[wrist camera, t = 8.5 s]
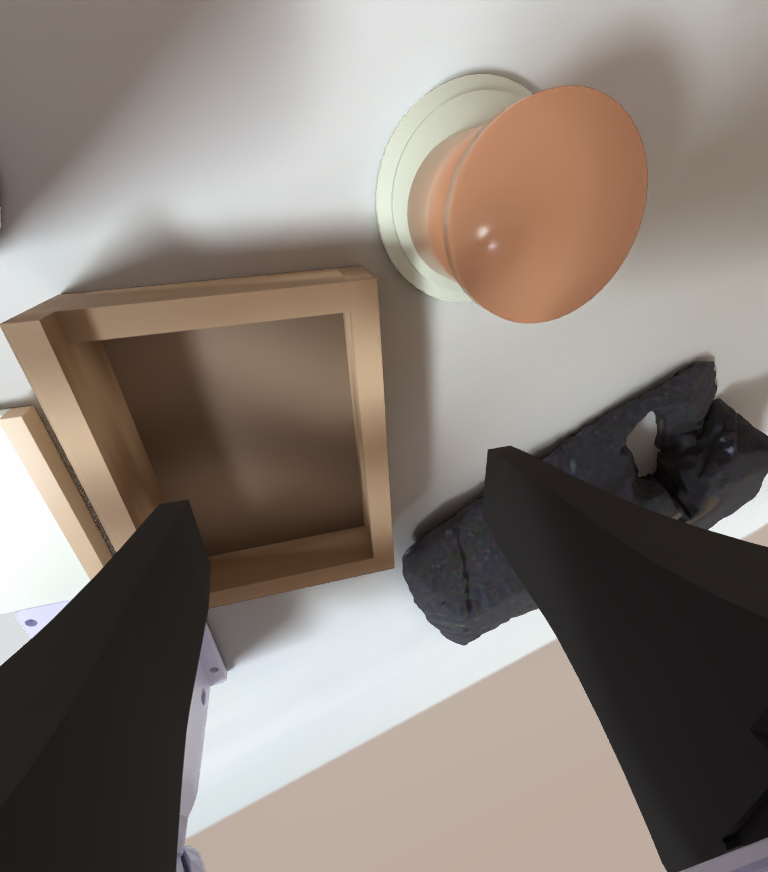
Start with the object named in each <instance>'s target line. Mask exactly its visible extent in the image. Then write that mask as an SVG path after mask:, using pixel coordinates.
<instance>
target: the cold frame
mask: <svg viewBox="0 0 768 872" xmlns="http://www.w3.org/2000/svg"><path fill="white" fill-rule="evenodd" d="M0 327H1V329H2V331H3V333H4V335H5V337H6V339H7V341H8V342H9V344H10V346H11V348H12V350H13V352H14V354H15V356H16V358H17V360H18V362H19V364H20V366H21V368H22V370H23V372H24V374H25V376H26V378H27V380H28V381H29V383H30V385H31V387H32V389H33V391H34V393H35V395H36V397H37V399H38V401H39V403H40V405H41V407H42V409H43V411H44V413H45V415H46V417H47V419H48V420H49V422H50V424H51V426H52V428H53V430H54V432H55V434H56V436H57V438H58V440H59V442H60V444H61V446H62V448H63V450H64V452H65V454H66V456H67V458H68V459H69V461H70V463H71V465H72V467H73V469H74V471H75V473H76V475H77V477H78V479H79V481H80V483H81V485H82V487H83V489H84V491H85V493H86V495H87V496H88V498H89V500H90V502H91V504H92V506H93V508H94V510H95V512H96V514H97V516H98V518H99V520H100V522H101V524H102V526H103V528H104V530H105V532H106V534H107V535H108V537H109V539H110V541H111V543H112V545H113V547H114V549H115V551H116V552H117V551H118V550H119V549H120V548H121V547H122V546H123V545H124V544H125V542H126V541H127V540H128V539H129V538H130V537H131V536H132V534H133V533H134V532H135V531H136V530H137V529H138V528H139V526H140V525H141V524H142V523H143V522H144V521H145V520H146V518H147V517H148V516H149V515H150V514H151V513H152V512H153V511H154V510H155V509H156V507H157V506H158V505H159V504H164V503H170V502H176V501H182V500H189V502H190V505H191V508H192V511H193V514H194V517H195V520H196V523H197V526H198V529H199V532H200V535H201V538H202V540H203V543H204V546H205V549H206V552H207V555H208V558H209V561H210V564H211V574H210V595H209V608H214V607H218V606H223V605H228V604H232V603H237V602H241V601H246V600H251V599H255V598H260V597H264V596H269V595H274V594H278V593H283V592H287V591H292V590H296V589H301V588H306V587H310V586H315V585H319V584H324V583H329V582H333V581H338V580H342V579H347V578H352V577H356V576H361V575H365V574H370V573H375V572H379V571H384V570H388V569H393V568H394V552H393V536H392V519H391V502H390V485H389V468H388V451H387V435H386V418H385V401H384V384H383V367H382V350H381V334H380V317H379V300H378V283H377V278H375V277H374V276H373V275H372V274H371V273H370V272H368V271H367V270H366V269H365V268H364V267H362V266H353V267H343V268H332V269H322V270H311V271H301V272H290V273H280V274H269V275H259V276H248V277H238V278H227V279H217V280H206V281H196V282H186V283H175V284H165V285H154V286H144V287H133V288H123V289H112V290H102V291H91V292H81V293H70V294H60V295H57V296H55V297H53V298H51V299H49V300H47V301H45V302H43V303H41V304H39V305H37V306H35V307H33V308H31V309H29V310H27V311H25V312H23V313H21V314H19V315H17V316H15V317H13V318H11V319H9V320H7V321H5V322H3V323H1V324H0ZM209 608H208V609H209Z"/></svg>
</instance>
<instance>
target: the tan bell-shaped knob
mask: <svg viewBox="0 0 768 872" xmlns="http://www.w3.org/2000/svg"><path fill="white" fill-rule="evenodd" d="M647 185H648V179H647V162H646V155H645V151H644V147H643V143H642V140H641V137H640V135H639V132H638V130H637V127H636V126H635V124H634V122H633V121H632V119H631V117H630V116H629V115H628V113H627V112H626V111H625V110H624V109H623V107H622V106H621V105H620V104H618V103H617V102H616V101H615V100H614V99H612V98H611V97H609V96H608V95H606V94H604V93H602V92H600V91H598V90H595V89H591V88H588V87H582V86H560V87H556V88H552V89H548V90H544V91H541V92H538V93H536V94H533V95H530V96H527V97H525V98H523V99H520V100H518V101H516V102H514V103H512V104H510V105H509V106H507V107H506V108H504V109H502V110H501V111H500V112H498V113H497V114H496V115H495V116H493V117H492V118H491V119H490V120H489V121H488V122H487V123H486V124H484V125H480V126H477V127H474V128H471V129H467V130H464V131H461V132H458V133H456V134H453V135H451V136H449V137H448V138H446V139H444V140H443V141H441V142H440V143H439V144H438V145H437V146H435V147H434V148H433V149H432V151H431V152H430V153H429V154H428V155H427V156H426V158H425V159H424V161H423V162H422V163H421V165H420V167H419V169H418V171H417V172H416V175H415V177H414V180H413V182H412V185H411V189H410V192H409V198H408V207H407V220H408V228H409V233H410V236H411V240H412V243H413V245H414V247H415V249H416V251H417V253H418V254H419V256H420V257H421V259H422V260H423V261H424V262H425V264H426V265H428V266H429V267H430V268H431V269H432V270H434V271H435V272H436V273H438V274H440V275H442V276H444V277H446V278H448V279H450V280H452V281H454V282H456V283H458V284H459V286H460V287H461V288H462V290H463V291H464V292H465V293H466V295H467V296H469V297H470V298H471V299H472V300H473V301H474V302H475V303H477V304H478V305H479V306H481V307H482V308H484V309H486V310H488V311H489V312H491V313H493V314H495V315H497V316H499V317H501V318H503V319H506V320H510V321H513V322H519V323H540V322H546V321H550V320H554V319H557V318H560V317H562V316H564V315H567V314H569V313H571V312H573V311H574V310H576V309H578V308H579V307H581V306H582V305H584V304H585V303H586V302H588V301H589V300H591V299H592V298H593V297H594V296H595V295H596V294H597V293H598V292H599V291H601V290H602V288H603V287H604V286H605V285H606V284H607V283H608V282H609V281H610V280H611V278H612V277H613V276H614V274H615V273H616V272H617V270H618V269H619V268H620V266H621V264H622V263H623V261H624V260H625V258H626V256H627V254H628V252H629V251H630V249H631V247H632V245H633V242H634V240H635V238H636V235H637V233H638V230H639V227H640V224H641V220H642V217H643V213H644V208H645V203H646V196H647Z"/></svg>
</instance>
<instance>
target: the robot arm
mask: <svg viewBox="0 0 768 872" xmlns="http://www.w3.org/2000/svg"><path fill="white" fill-rule="evenodd" d="M482 513H483V516H484V518H485V520H486V522H487V524H488V527H489V529H490V531H491V533H492V535H493V537H494V539H495V541H496V543H497V545H498V547H499V548H500V550H501V551H502V553H503V555H504V556H505V558H506V559H507V561H508V562H509V564H510V565H511V567H512V568H513V570H514V572H515V573H516V575H517V576H518V578H519V579H520V581H521V582H522V584H523V585H524V587H525V588H526V590H527V591H528V593H529V594H530V596H531V597H532V599H533V600H534V602H535V603H536V605H537V606H538V608H539V609H540V611H541V612H542V614H543V615H544V617H545V618H546V620H547V622H548V623H549V625H550V626H551V628H552V630H553V631H554V633H555V635H556V636H557V638H558V640H559V642H560V644H561V646H562V647H563V649H564V651H565V653H566V655H567V657H568V659H569V661H570V663H571V664H572V666H573V668H574V670H575V672H576V674H577V676H578V677H579V679H580V682H581V684H582V686H583V688H584V690H585V692H586V694H587V696H588V698H589V700H590V702H591V704H592V706H593V708H594V710H595V712H596V714H597V716H598V718H599V720H600V722H601V724H602V726H603V729H604V731H605V733H606V735H607V737H608V739H609V742H610V744H611V746H612V748H613V750H614V752H615V754H616V756H617V759H618V761H619V763H620V765H621V767H622V770H623V772H624V774H625V776H626V779H627V781H628V783H629V785H630V788H631V790H632V792H633V795H634V797H635V799H636V802H637V804H638V806H639V809H640V811H641V813H642V816H643V818H644V820H645V822H646V825H647V827H648V829H649V832H650V834H651V837H652V839H653V841H654V844H655V847H656V849H657V851H658V854H659V856H660V859H661V861H662V864H663V865H664V867H665V869H666V870H667V872H768V547H765V546H761V545H758V544H754V543H750V542H746V541H743V540H740V539H736V538H733V537H729V536H726V535H723V534H719V533H716V532H712V531H709V530H706V529H703V528H700V527H697V526H693V525H690V524H687V523H685V522H682V521H679V520H676V519H673V518H671V517H668V516H665V515H662V514H660V513H657V512H654V511H651V510H649V509H646V508H644V507H641V506H639V505H636V504H634V503H632V502H629V501H627V500H625V499H622V498H620V497H618V496H615V495H613V494H611V493H608V492H606V491H604V490H602V489H600V488H597V487H595V486H593V485H591V484H589V483H587V482H585V481H583V480H581V479H578V478H576V477H574V476H572V475H570V474H568V473H566V472H564V471H562V470H560V469H558V468H556V467H554V466H552V465H550V464H548V463H546V462H544V461H542V460H540V459H538V458H536V457H534V456H532V455H530V454H528V453H526V452H524V451H521V450H519V449H517V448H514V447H512V446H506V447H500V448H494V449H488V454H487V465H486V475H485V486H484V497H483V507H482ZM210 574H211V564H210V561H209V558H208V555H207V552H206V549H205V546H204V543H203V540H202V538H201V535H200V532H199V529H198V526H197V523H196V520H195V517H194V514H193V511H192V508H191V505H190V502H189V500H182V501H176V502H170V503H164V504H159V505H158V506H157V507H156V509H155V510H154V511H153V512H152V513H151V514H150V515H149V516H148V517H147V518H146V520H145V521H144V522H143V523H142V524H141V525H140V526H139V528H138V529H137V530H136V531H135V532H134V533H133V534H132V536H131V537H130V538H129V539H128V540H127V541H126V542H125V544H124V545H123V546H122V547H121V548H120V549H119V550H118V551H117V552H116V554H115V555H114V556H113V557H112V558H111V559H110V560H109V561H108V562H107V564H106V565H105V566H104V567H103V568H102V569H101V570H100V571H99V572H98V573H97V574H96V576H95V577H94V578H93V579H92V580H91V581H90V582H89V583H88V584H87V585H86V586H85V587H84V588H83V589H82V590H81V591H80V592H79V593H78V594H77V595H76V596H75V597H74V598H73V599H72V600H67V601H62V602H57V603H52V604H47V605H42V606H37V607H33V608H28V609H23V610H18V611H16V612H15V618H16V619H17V621H18V622H19V623H20V625H21V626H22V627H23V629H24V630H25V631H26V632H27V634H28V635H29V636H30V638H31V640H30V641H28V642H27V643H26V644H25V645H24V646H23V647H22V648H20V649H19V650H18V651H17V652H16V653H15V654H14V655H13V656H11V657H10V658H9V659H8V660H7V661H6V662H5V663H3V664H2V665H1V666H0V872H206V871H205V866H204V862H203V860H202V858H201V855H200V853H199V852H198V851H197V849H196V848H194V847H191V846H184V843H185V836H186V828H187V821H188V817H189V814H190V812H191V810H192V807H193V805H194V802H195V799H196V795H197V790H198V784H199V776H200V768H201V759H202V751H203V742H204V734H205V726H206V717H207V709H208V701H209V692H210V686H212V685H216V684H220V683H223V682H224V681H226V679H227V671H226V668H225V666H224V663H223V661H222V659H221V656H220V654H219V651H218V649H217V646H216V644H215V642H214V639H213V637H212V634H211V632H210V629H209V627H208V625H207V622H206V620H207V614H208V608H209V595H210Z"/></svg>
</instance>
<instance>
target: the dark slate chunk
mask: <svg viewBox="0 0 768 872" xmlns="http://www.w3.org/2000/svg"><path fill="white" fill-rule="evenodd" d="M714 365H715V364H714V362H713V361H711V362H694V364H693V366H692V367H691V368H684V369H682V370H680V371H678V372H677V373H676V374H675V377H673V378H671V379H670V380H668V381H666V382H665V383H664V384H663V385H662V386H660V387H659V388H657V389H655V390H651V391H648V392H646V393H645V394H644V395H642V396H641V397H639V398H636V399H634V400H632V401H630V402H628V403H626V404H624V405H622V406H620V407H618V408H616V409H614V410H612V411H610V412H609V413H607V414H606V415H604V416H603V417H602V418H600V419H599V420H598V421H597V422H595V423H592V424H589V425H587V426H585V427H584V428H583V429H582V430H581V431H580V432H579V433H578V434H577V435H574V434H571V435H570V436H569V437H568V438H567V439H566V440H565V441H564V442H563V443H561V444H560V445H559V446H558V447H557V448H556V449H555V450H554V451H552V452H551V454H550V455H549V456H548V457H546V458H545V459H543V460H542V461H544V462H546V463H548V464H550V465H552V466H554V467H556V468H558V469H560V470H562V471H564V472H566V473H568V474H570V475H572V476H574V477H576V478H578V479H581V480H583V481H585V482H587V483H589V484H591V485H593V486H595V487H597V488H600V489H602V490H604V491H606V492H608V493H611V494H613V495H615V496H618V497H620V498H622V499H625V500H627V501H629V502H632V503H634V504H636V505H639V506H641V507H644V508H646V509H649V510H651V511H654V512H657V513H660V514H662V515H665V516H668V517H671V518H673V519H676V520H679V521H682V522H685V523H687V524H690V525H693V526H697V527H700V528H703V529H706V530H708V529H709V528H711V527H712V526H714V525H715V524H716V523H717V522H718V521H719V520H721V519H723V518H725V517H727V516H729V515H731V514H733V513H734V512H735V511H737V510H738V509H739V508H740V507H742V506H743V505H744V504H746V503H747V502H749V501H750V500H752V499H753V498H754V497H755V496H756V495H757V493H758V492H759V490H760V488H761V486H762V482H763V479H764V477H765V476H766V475H767V473H768V436H767V435H766V434H764V433H763V432H761V431H759V430H757V429H756V428H754V427H753V426H752V425H751V424H750V423H749V422H748V421H747V420H745V419H744V418H743V417H742V416H741V415H740V414H738V413H736V412H735V411H734V410H733V409H732V408H731V407H729V406H728V405H727V404H726V403H725V402H723V401H722V400H721V399H716V400H714V401H713V399H714V397H715V394H716V391H717V385H716V384H715V378H716V372H715V371H714V370H713V369H714ZM712 401H713V402H712ZM650 411H653V412H654V413H655V415H656V424H657V436H656V439H655V446H656V447H657V448H658V449H660V450H661V451H659V452H658V453H657V459H656V461H657V469H656V470H655V472H654V473H653V474H652V475H651V474H650V473H649V474H648V475H646V476H643V477H637V476H638V472H639V471H638V469H637V467H636V464H635V462H634V458H633V455H632V453H631V451H630V450H629V448H628V447H627V446H626V444H625V443H626V439H627V437H628V435H629V434H630V432H631V431H632V430H633V428H634V427H635V426H636V425H637V423H639V422H640V421H641V420H642V419H643V418H644V417H645V416H646V415H647V413H649V412H650ZM483 497H484V495H483V496H482V497H481V498H480V499H478V500H477V501H475V502H472V503H470V504H468V505H466V506H465V507H463V508H462V509H461V510H460V511H459V512H458V513H457V514H456V515H455V516H453V517H452V518H451V519H449V520H446V521H445V522H444V523H443V524H442V525H440V526H439V527H437V528H435V529H434V530H432V531H431V532H429V533H428V534H426V535H425V536H424V537H422V538H421V539H420V540H418V541H417V542H416V543H415V544H413V545H412V546H410V547H409V548H408V549H407V551H406V552H405V554H404V555H403V557H402V561H403V576H404V578H405V581H406V582H407V584H408V586H409V590H410V592H411V593H412V595H413V597H414V602H415V603H416V604H417V606H418V607H419V608H420V609H421V610H422V611H423V612H424V614H425V615H426V619H427V620H428V621H429V622H430V623H431V624H432V625H433V626H435V627H436V628H437V629H439V630H440V632H441V633H442V635H443V636H445V637H446V638H447V639H449V640H451V641H453V642H455V643H457V644H460V645H467V644H468V643H469V642H471V641H473V640H475V639H476V638H478V637H480V635H482V634H484V633H486V632H488V631H490V630H493V629H495V628H497V627H498V626H499V625H500V624H502V623H505V622H507V621H509V620H510V618H513V617H517V616H520V615H523V614H525V613H527V612H530V611H533V610H535V609H538V606H537V605H536V603H535V602H534V600H533V599H532V597H531V596H530V594H529V593H528V591H527V590H526V588H525V587H524V585H523V584H522V582H521V581H520V579H519V578H518V576H517V575H516V573H515V572H514V570H513V568H512V567H511V565H510V564H509V562H508V561H507V559H506V558H505V556H504V555H503V553H502V551H501V550H500V548H499V547H498V545H497V543H496V541H495V539H494V537H493V535H492V533H491V531H490V529H489V527H488V524H487V522H486V520H485V518H484V516H483V513H482V507H483Z"/></svg>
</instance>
